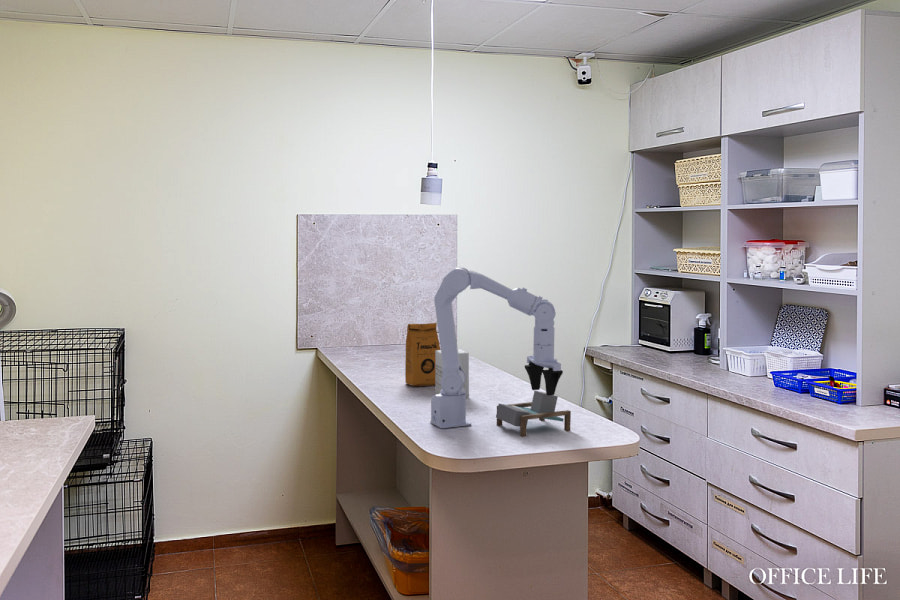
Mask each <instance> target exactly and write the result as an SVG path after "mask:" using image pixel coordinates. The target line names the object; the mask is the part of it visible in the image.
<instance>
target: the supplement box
mask: <svg viewBox="0 0 900 600" xmlns="http://www.w3.org/2000/svg"><path fill="white" fill-rule="evenodd" d="M458 355H459V360H460V364H461V368H462V370H463V371H464V373H465V376H466V379H465V383H464V384H463V388H464V390H465V391H466V399H467V398H470V378H469V377H470V371H469V369H470V367H469V366H470V365H469V363H470V362H469V361H470V353H469V352H467V351H465V350H463V349H461V348H458ZM435 358H436V385H435V395H437V394H440V391H441V389H442V388H441V379H442V375H443V372H442V354H441V350H436V355H435Z"/></svg>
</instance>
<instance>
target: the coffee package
mask: <svg viewBox="0 0 900 600" xmlns="http://www.w3.org/2000/svg"><path fill="white" fill-rule="evenodd" d="M406 329H407V330H406V332H407V333H406V339H405V361H404V362H405V364H404V365H405V369H404V370H405V371H404V372H405V373H404V375H405V377H404V378H405V379H404V380H405V384H407V385H410V386H415V387H424V386H425V387H431V386H436V358H435V355H436V350H441V347H440V339H439V334H438V330H437V329H438V324H437V322H429V323H407V327H406Z"/></svg>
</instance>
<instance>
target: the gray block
mask: <svg viewBox="0 0 900 600" xmlns="http://www.w3.org/2000/svg"><path fill="white" fill-rule="evenodd" d="M558 398H559V396H558V395H555V394H554V395H549V396H548V395H547V394H546V392H545V391H544V392H543V391H540V390H533V397H532V401H531V402H532V405H531V407H530V409H531V410H532V411H534V412H537V413H548V412H556V407H557V402H558Z"/></svg>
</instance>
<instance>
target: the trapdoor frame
mask: <svg viewBox="0 0 900 600" xmlns="http://www.w3.org/2000/svg"><path fill="white" fill-rule="evenodd" d="M507 405H511V406H512V405H513V406H517V407H524V408H531V405H532V401H528V402H520V403H511V404H507ZM497 409H498V405H496V410H497ZM571 412H572V411H571V410H569V409H568V410H567V409H566V410H559V411H555V412H548V413H539V414H530V415H521V416H520V426H519V436H520V437H522V438H524V437H527V427H528V422H527V420H528V421H529V420H536V419H538V420H539V421H542V422H543V421H546V419H543V418H547V417H555V416H558V417H563V416H564V418H563V419H564V420H563V425H564V427H563V431H565V432H570V431H571V416H572V415H571ZM496 426H503V421H502V420H500V419H498V418H496ZM526 426H527V427H526Z"/></svg>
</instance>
